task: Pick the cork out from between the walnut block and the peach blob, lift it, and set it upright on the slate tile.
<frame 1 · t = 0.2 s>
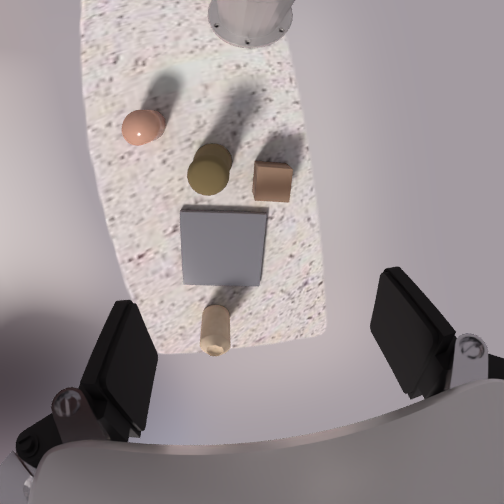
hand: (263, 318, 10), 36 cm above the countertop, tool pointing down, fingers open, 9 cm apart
cork: (212, 162, 41), on the countertop
slate tile: (222, 249, 48), on the countertop
walnut block: (269, 177, 43), on the countertop
peach blob: (150, 125, 37), on the countertop
candle: (216, 314, 55), on the countertop
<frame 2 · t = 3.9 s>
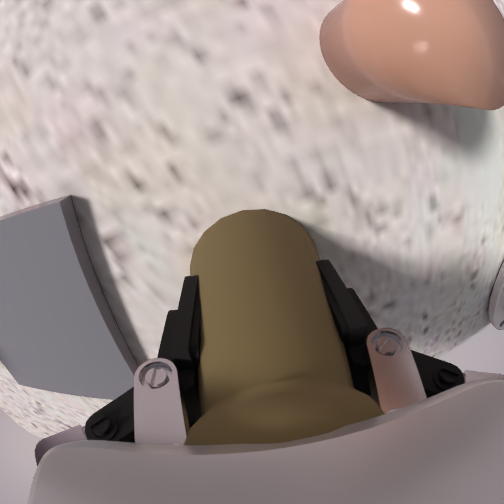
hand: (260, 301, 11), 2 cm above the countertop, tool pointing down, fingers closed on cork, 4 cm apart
cork: (254, 268, 13), on the countertop, touching gripper
slate tile: (31, 318, 13), on the countertop
peach blob: (373, 49, 9), on the countertop
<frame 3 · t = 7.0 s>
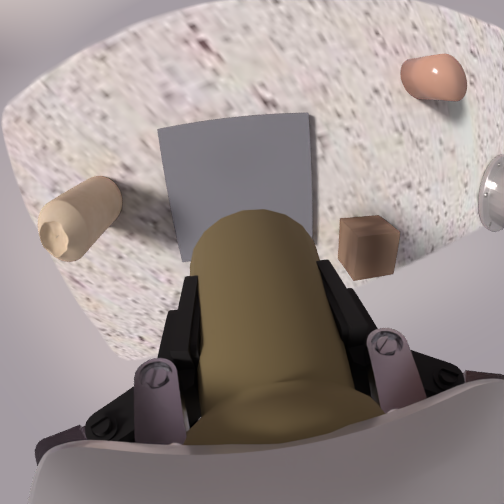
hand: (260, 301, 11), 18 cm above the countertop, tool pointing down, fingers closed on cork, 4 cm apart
cork: (254, 269, 13), point 16 cm above the countertop, touching gripper
slate tile: (240, 187, 27), on the countertop
walnut block: (358, 236, 31), on the countertop
peach blob: (417, 78, 22), on the countertop
candle: (101, 199, 26), on the countertop
when the fingers open (5 cm above the countertop, at t = 10.0 s): cork drops 1 cm, resting on slate tile.
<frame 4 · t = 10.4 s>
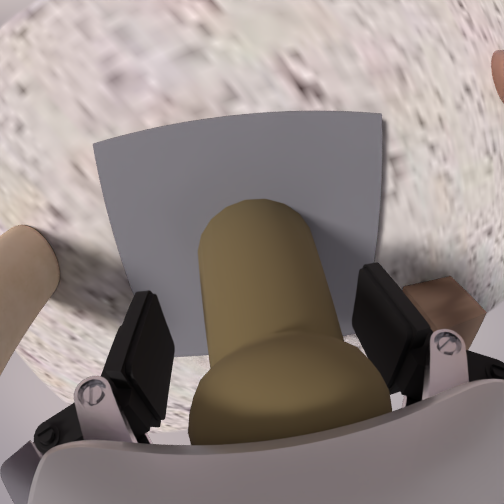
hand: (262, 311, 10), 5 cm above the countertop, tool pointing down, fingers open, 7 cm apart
cork: (256, 253, 14), point 1 cm above the countertop, touching slate tile
slate tile: (250, 247, 15), on the countertop
walnut block: (420, 306, 19), on the countertop
candle: (32, 259, 14), on the countertop
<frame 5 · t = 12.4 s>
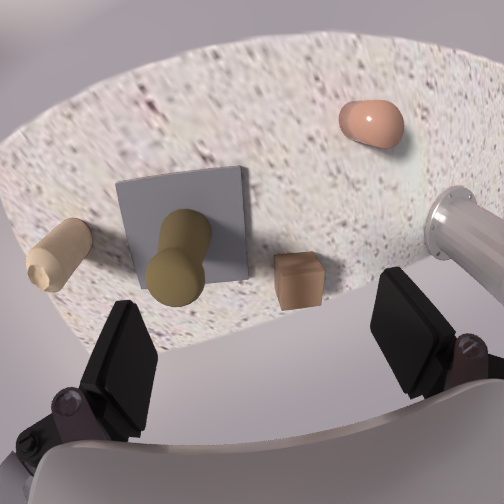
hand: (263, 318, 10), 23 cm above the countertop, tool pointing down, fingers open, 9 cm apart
cork: (185, 233, 31), point 1 cm above the countertop, touching slate tile
slate tile: (184, 230, 32), on the countertop
walnut block: (293, 269, 36), on the countertop
peach blob: (357, 121, 28), on the countertop
candle: (75, 236, 31), on the countertop
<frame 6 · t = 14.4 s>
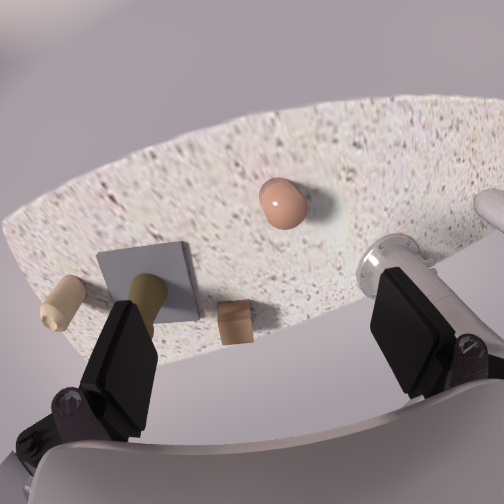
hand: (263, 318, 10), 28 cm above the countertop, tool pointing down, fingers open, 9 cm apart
cork: (149, 288, 41), point 1 cm above the countertop, touching slate tile
soap bottle: (485, 195, 39), on the countertop
slate tile: (149, 286, 42), on the countertop
walnut block: (235, 312, 46), on the countertop
peach blob: (277, 195, 37), on the countertop
candle: (74, 287, 41), on the countertop
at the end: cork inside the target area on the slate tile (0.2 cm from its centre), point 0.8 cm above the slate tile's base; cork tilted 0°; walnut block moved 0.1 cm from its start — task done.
